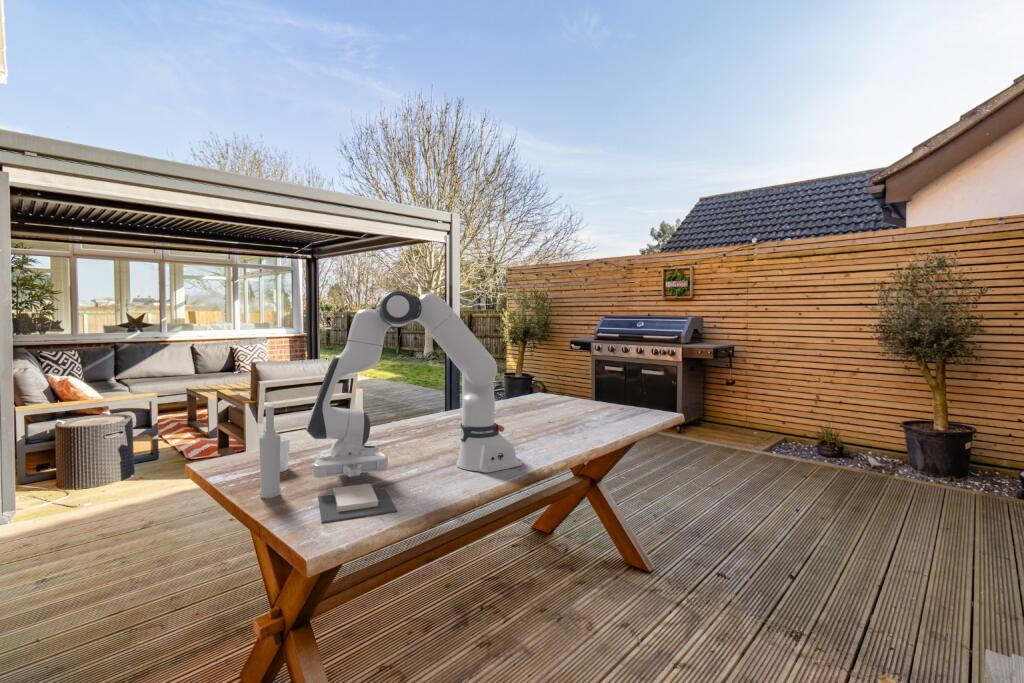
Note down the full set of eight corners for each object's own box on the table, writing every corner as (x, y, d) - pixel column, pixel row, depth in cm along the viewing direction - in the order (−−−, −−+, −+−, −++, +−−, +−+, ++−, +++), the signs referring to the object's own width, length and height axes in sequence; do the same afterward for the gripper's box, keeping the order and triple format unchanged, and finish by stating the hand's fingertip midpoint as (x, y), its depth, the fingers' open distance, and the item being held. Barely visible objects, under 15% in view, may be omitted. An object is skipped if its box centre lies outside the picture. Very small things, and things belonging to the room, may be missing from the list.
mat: (384, 488, 139) (384, 487, 139) (396, 511, 123) (396, 510, 123) (318, 497, 131) (318, 496, 131) (321, 523, 115) (321, 521, 115)
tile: (370, 483, 138) (378, 500, 125) (370, 488, 138) (378, 506, 125) (333, 487, 133) (337, 506, 121) (333, 493, 134) (337, 512, 121)
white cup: (260, 474, 149) (259, 443, 148) (265, 466, 156) (265, 436, 156) (287, 473, 151) (287, 441, 150) (292, 465, 158) (291, 435, 158)
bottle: (275, 490, 136) (275, 403, 134) (284, 495, 132) (283, 405, 131) (256, 495, 132) (255, 405, 130) (264, 500, 128) (264, 408, 127)
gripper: (311, 452, 139) (313, 466, 126) (383, 445, 147) (391, 458, 135) (311, 473, 139) (313, 489, 127) (382, 465, 148) (391, 479, 135)
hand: (354, 473), depth 131 cm, fingers closed
